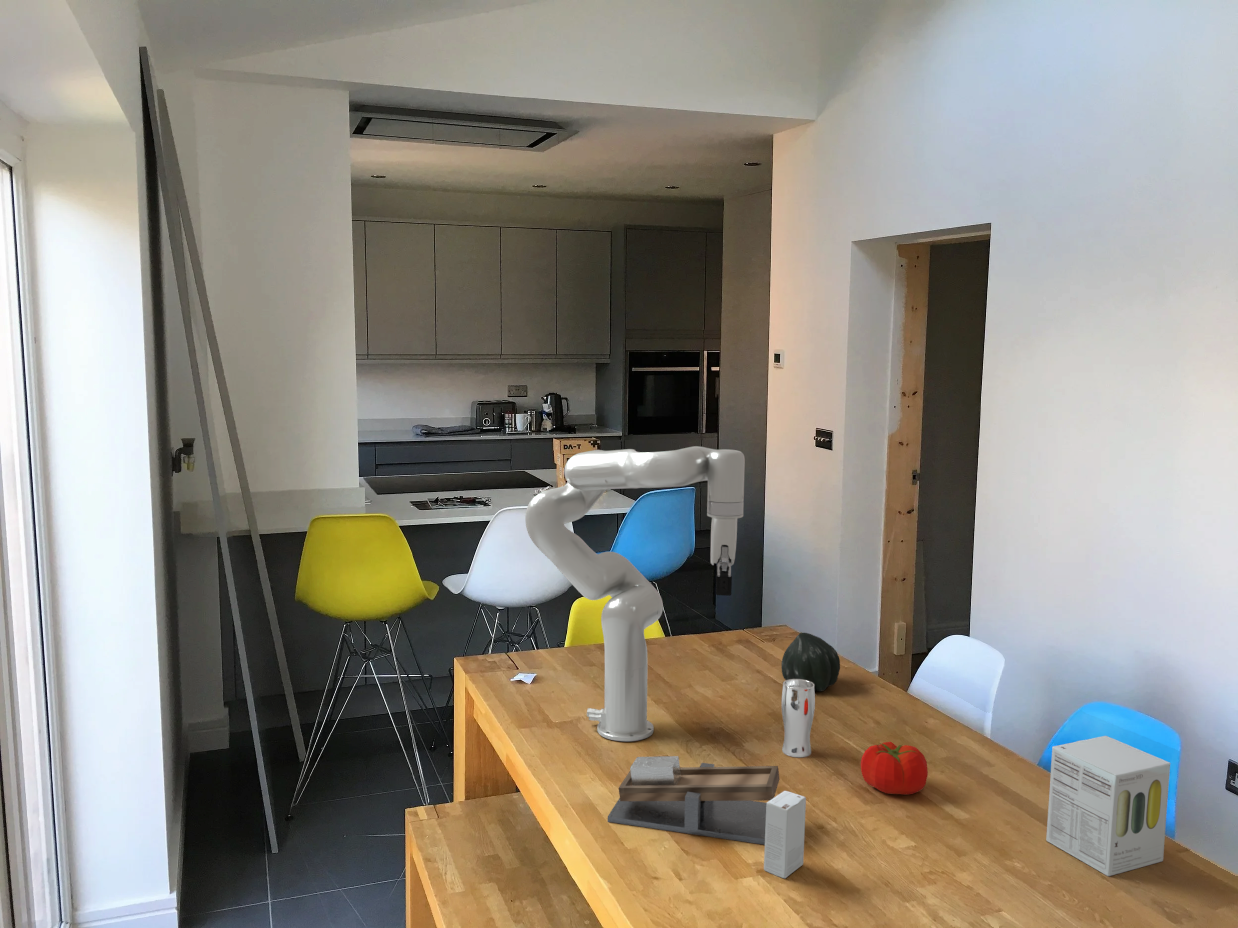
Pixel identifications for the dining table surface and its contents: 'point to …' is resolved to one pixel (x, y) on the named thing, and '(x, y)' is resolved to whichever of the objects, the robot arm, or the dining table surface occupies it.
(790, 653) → the squash
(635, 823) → the pivot stand
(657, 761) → the steel block
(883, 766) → the tomato
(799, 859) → the skincare box
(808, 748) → the beer glass
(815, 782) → the dining table surface
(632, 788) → the long rimmed wooden tray
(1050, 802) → the supplement box
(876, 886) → the dining table surface
